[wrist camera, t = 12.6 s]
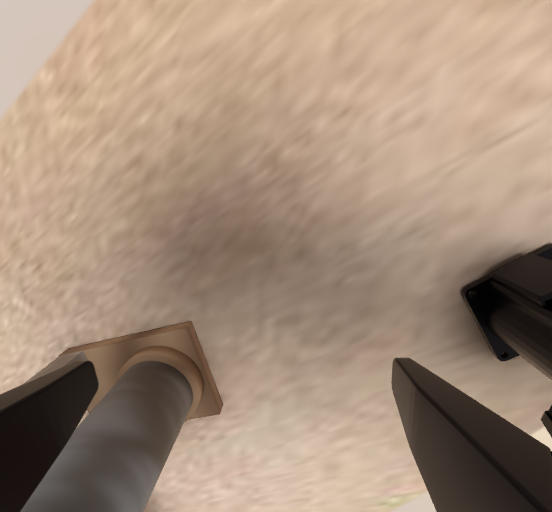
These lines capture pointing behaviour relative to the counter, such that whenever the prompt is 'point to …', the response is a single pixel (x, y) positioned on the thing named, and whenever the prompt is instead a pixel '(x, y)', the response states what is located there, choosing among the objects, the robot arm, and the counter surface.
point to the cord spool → (124, 437)
